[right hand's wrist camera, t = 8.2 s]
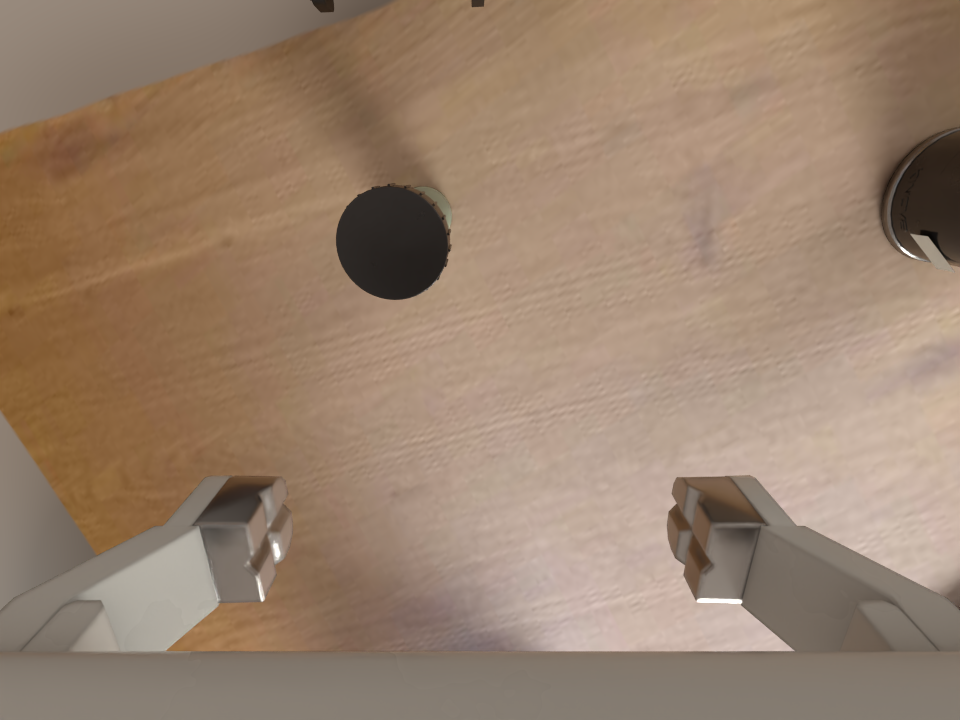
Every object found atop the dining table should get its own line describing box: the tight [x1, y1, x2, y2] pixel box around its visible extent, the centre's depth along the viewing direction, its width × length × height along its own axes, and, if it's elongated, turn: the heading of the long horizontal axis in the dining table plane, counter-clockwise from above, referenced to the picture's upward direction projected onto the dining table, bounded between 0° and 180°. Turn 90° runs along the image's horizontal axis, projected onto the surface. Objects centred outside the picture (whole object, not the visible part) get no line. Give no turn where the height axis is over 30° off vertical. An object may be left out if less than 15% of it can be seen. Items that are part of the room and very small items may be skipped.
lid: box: [336, 183, 452, 300], centre depth 24 cm, size 5×5×2 cm
